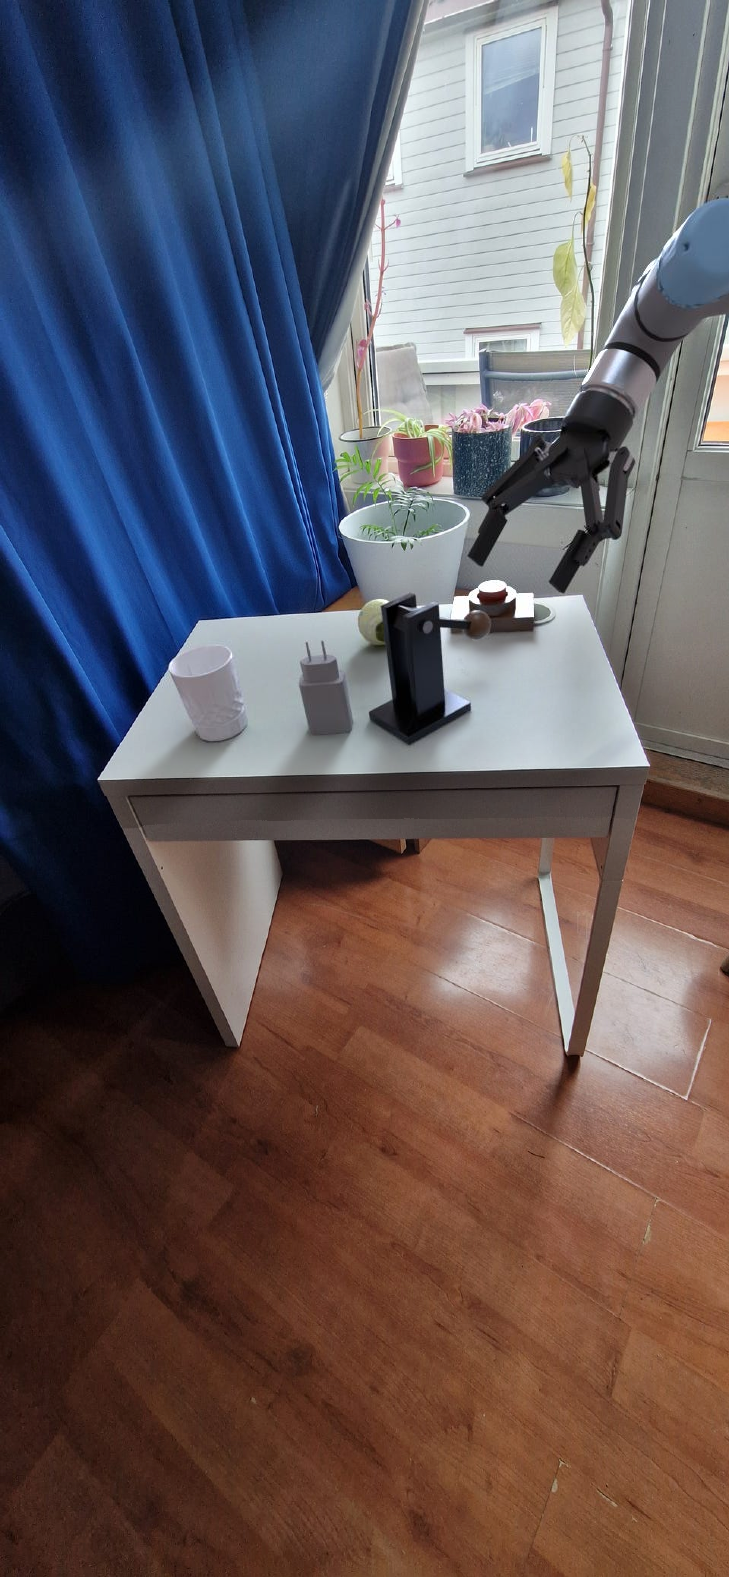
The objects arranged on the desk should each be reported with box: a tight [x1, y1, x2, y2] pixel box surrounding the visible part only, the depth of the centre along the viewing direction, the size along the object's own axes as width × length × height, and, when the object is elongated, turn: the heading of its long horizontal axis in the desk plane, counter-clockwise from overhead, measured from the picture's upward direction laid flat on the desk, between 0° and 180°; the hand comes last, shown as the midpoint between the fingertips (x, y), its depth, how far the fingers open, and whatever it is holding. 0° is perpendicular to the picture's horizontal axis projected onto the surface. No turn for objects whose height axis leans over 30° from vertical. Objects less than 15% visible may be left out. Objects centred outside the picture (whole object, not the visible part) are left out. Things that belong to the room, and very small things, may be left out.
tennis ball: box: [357, 598, 390, 647], centre depth 96 cm, size 6×7×7 cm
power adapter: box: [298, 640, 354, 736], centre depth 79 cm, size 3×5×12 cm, turn 86°
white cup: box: [168, 644, 248, 742], centre depth 83 cm, size 8×8×10 cm
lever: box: [394, 606, 491, 641], centre depth 77 cm, size 14×4×4 cm, turn 126°
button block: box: [450, 585, 535, 634], centre depth 98 cm, size 12×8×4 cm, turn 79°
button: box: [478, 580, 507, 602], centre depth 96 cm, size 4×4×2 cm
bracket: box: [368, 592, 472, 746], centre depth 77 cm, size 10×8×15 cm
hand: (513, 574), depth 80 cm, fingers open, 13 cm apart
